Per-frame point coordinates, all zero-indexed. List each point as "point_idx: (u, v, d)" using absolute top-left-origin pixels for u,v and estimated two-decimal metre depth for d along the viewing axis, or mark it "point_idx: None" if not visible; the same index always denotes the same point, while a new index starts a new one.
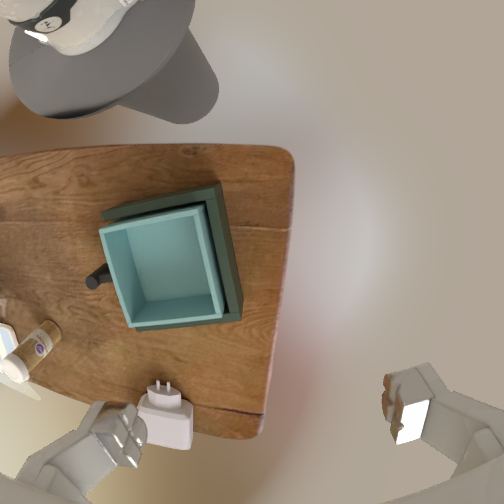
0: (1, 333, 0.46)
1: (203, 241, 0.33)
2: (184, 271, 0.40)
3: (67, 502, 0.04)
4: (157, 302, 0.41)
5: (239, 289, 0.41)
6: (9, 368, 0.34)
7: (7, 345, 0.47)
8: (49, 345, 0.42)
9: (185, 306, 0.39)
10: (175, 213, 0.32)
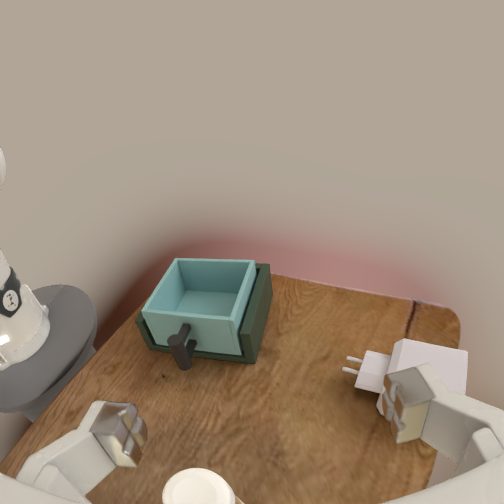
0: None
1: None
2: (224, 311, 0.46)
3: (67, 502, 0.04)
4: None
5: None
6: (185, 494, 0.15)
7: None
8: None
9: None
10: (169, 267, 0.46)
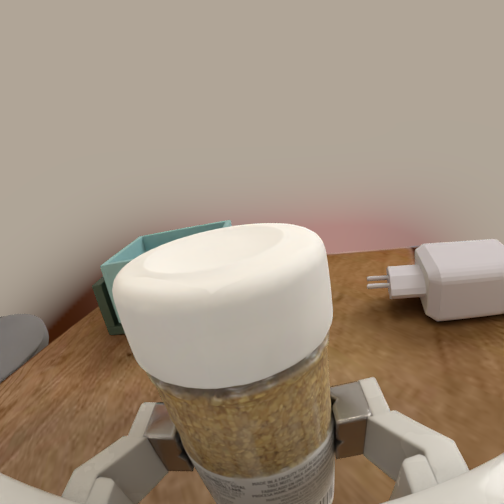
0: None
1: (163, 232, 0.41)
2: None
3: (67, 502, 0.04)
4: None
5: None
6: (184, 252, 0.07)
7: None
8: None
9: None
10: (133, 241, 0.39)
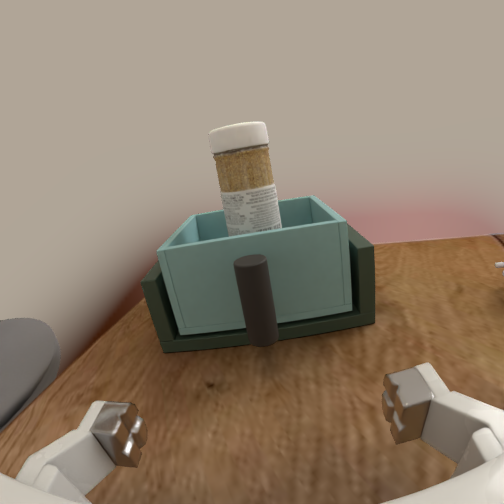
0: None
1: None
2: None
3: (67, 502, 0.04)
4: None
5: None
6: None
7: None
8: None
9: None
10: (186, 220, 0.30)
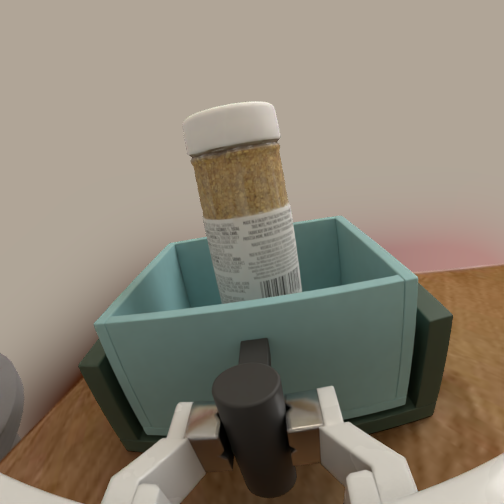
0: None
1: None
2: None
3: (67, 502, 0.04)
4: None
5: None
6: None
7: None
8: None
9: (356, 282, 0.18)
10: (160, 253, 0.20)
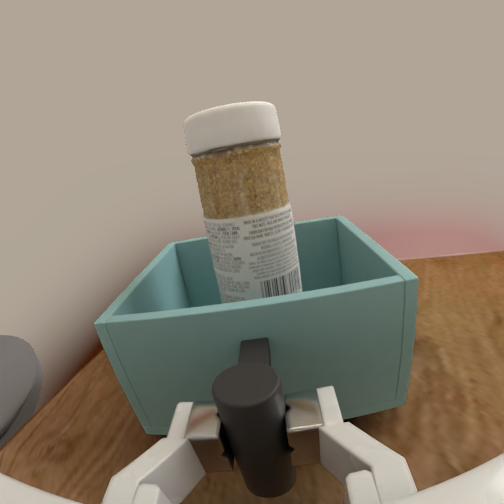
0: None
1: None
2: None
3: (67, 502, 0.04)
4: None
5: None
6: None
7: None
8: None
9: (356, 282, 0.18)
10: (160, 253, 0.20)
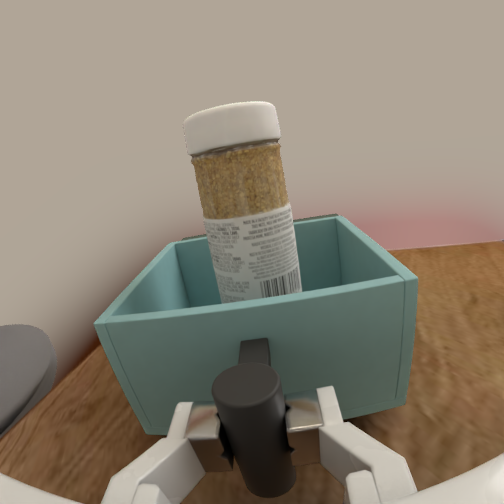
0: None
1: None
2: None
3: (67, 502, 0.04)
4: None
5: None
6: None
7: None
8: None
9: (356, 282, 0.18)
10: (160, 253, 0.20)
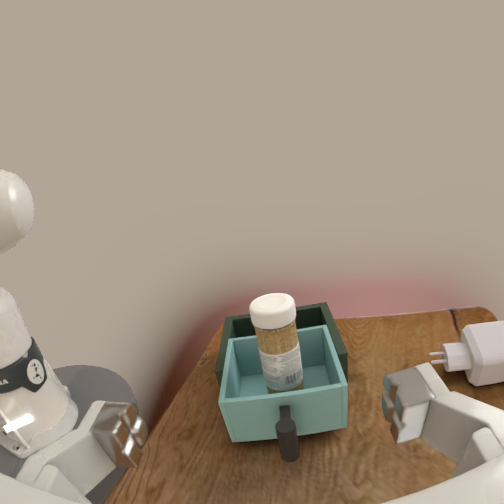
0: None
1: (255, 335, 0.39)
2: None
3: (67, 502, 0.04)
4: None
5: None
6: (265, 302, 0.31)
7: None
8: None
9: (330, 366, 0.35)
10: (227, 349, 0.37)
